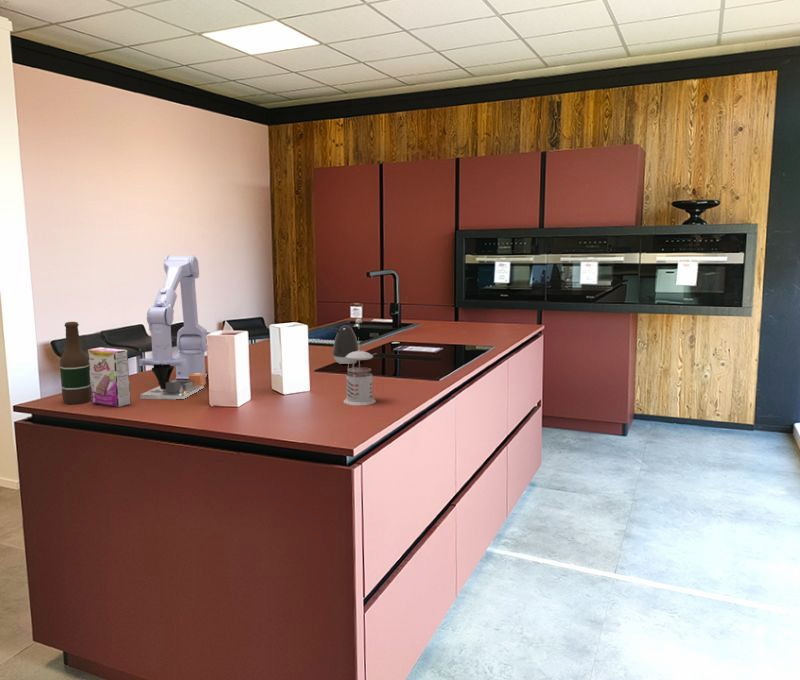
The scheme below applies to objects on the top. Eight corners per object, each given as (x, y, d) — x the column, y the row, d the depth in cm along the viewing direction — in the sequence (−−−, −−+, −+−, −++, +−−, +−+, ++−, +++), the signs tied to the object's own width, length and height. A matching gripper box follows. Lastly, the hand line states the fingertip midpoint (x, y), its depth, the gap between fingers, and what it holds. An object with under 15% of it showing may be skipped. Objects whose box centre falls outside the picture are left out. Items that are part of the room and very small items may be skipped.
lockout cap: (189, 387, 215) (188, 374, 215) (194, 384, 219) (193, 372, 219) (200, 387, 215) (200, 374, 214) (205, 385, 219) (205, 372, 218)
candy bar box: (90, 404, 193) (86, 349, 190) (104, 400, 197) (100, 346, 195) (118, 408, 188) (114, 351, 186) (131, 404, 193) (128, 349, 190)
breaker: (165, 392, 201) (165, 381, 201) (171, 390, 205) (170, 379, 204) (175, 392, 201) (174, 382, 200) (180, 390, 204) (179, 379, 204)
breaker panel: (140, 398, 199) (139, 389, 199) (163, 387, 214) (162, 379, 214) (183, 399, 198) (183, 391, 197) (204, 388, 213) (203, 380, 212)
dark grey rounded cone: (332, 361, 261) (331, 324, 259) (358, 361, 262) (358, 323, 260) (332, 366, 251) (332, 327, 249) (359, 365, 252) (359, 326, 250)
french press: (351, 406, 189) (349, 321, 185) (336, 398, 199) (334, 317, 195) (381, 403, 193) (381, 319, 190) (365, 395, 203) (364, 315, 200)
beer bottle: (97, 399, 198) (91, 321, 195) (77, 405, 191) (71, 324, 188) (77, 397, 201) (71, 320, 197) (56, 403, 194) (50, 323, 190)
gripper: (132, 347, 198) (135, 390, 200) (178, 348, 196) (180, 392, 198) (144, 343, 205) (147, 386, 207) (188, 344, 203) (190, 387, 205)
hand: (164, 388), depth 203 cm, fingers closed
